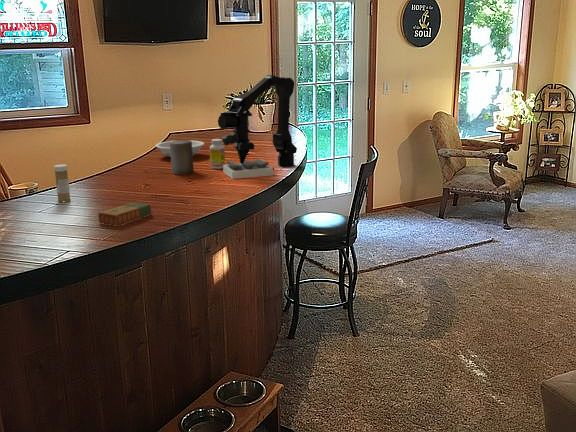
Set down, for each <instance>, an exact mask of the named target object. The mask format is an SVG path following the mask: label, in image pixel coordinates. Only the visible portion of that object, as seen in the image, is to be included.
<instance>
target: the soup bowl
mask: <svg viewBox="0 0 576 432" xmlns="http://www.w3.org/2000/svg"><path fill="white" fill-rule="evenodd" d="M189 140H190V139H189ZM172 141H173V140H169V141H163V142H159V143H156V144H155V147H156V148H158V149H159V151H160V152H161V153H162V154H163V155H165V156H166V157H169V158H171V153H170V142H172ZM190 141H192V153H193V156H194V155H196V154H197V153H198V152H199V151H200V150H201V149H202V147H203V146H204V145H205V141H204V142H203V141H200V140H190Z"/></svg>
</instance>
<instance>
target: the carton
mask: <svg viewBox="0 0 576 432" xmlns="http://www.w3.org/2000/svg"><path fill="white" fill-rule="evenodd" d="M152 212H153V211H152V207H151V204H149V203H144V202H143V203H141V202H133V201H132V202H129V203H125V204H122V205H120V206H116V207H113V208H110V209H107V210H103V211H101V212H98V222H99V223H104V224H111V225H116V226H118V225H121V224H124V223H126V222H129V221H132V220H135V219H138V218H141V217H144V216H147V215H150V214H153V213H152ZM99 223H98V224H99Z"/></svg>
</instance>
